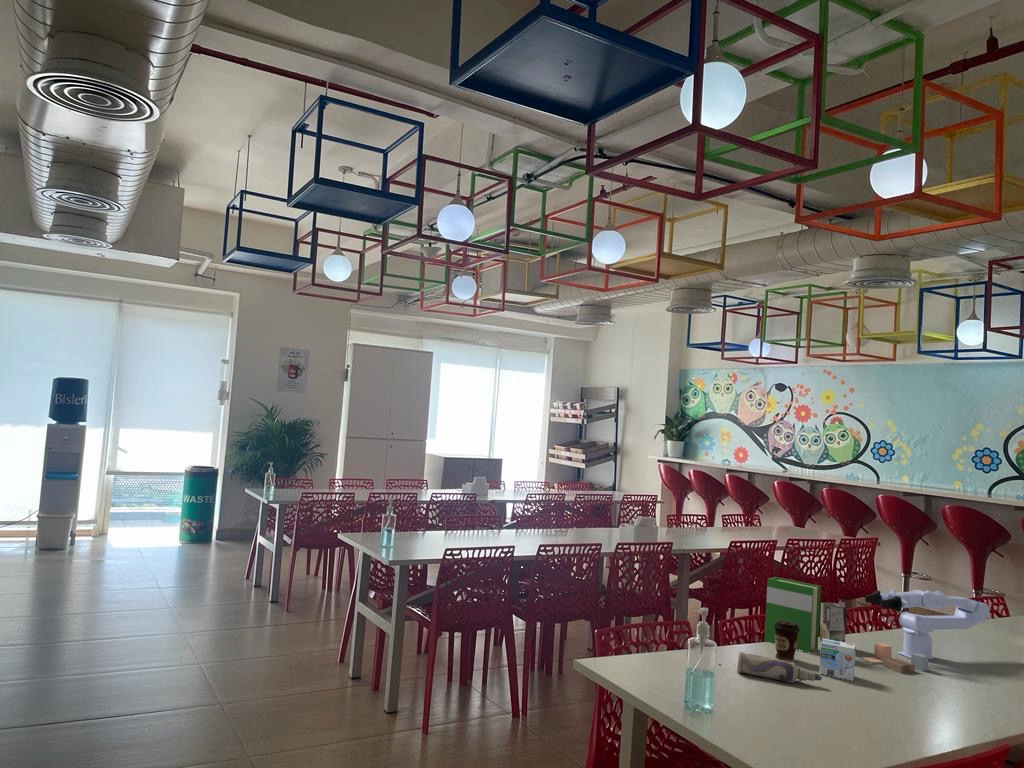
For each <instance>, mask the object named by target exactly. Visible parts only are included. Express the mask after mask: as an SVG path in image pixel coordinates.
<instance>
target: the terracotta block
mask: <svg viewBox="0 0 1024 768" xmlns="http://www.w3.org/2000/svg"><path fill="white" fill-rule="evenodd" d="M892 648H893V647H892V645H889V644H886V643H883V642H882V643H881V642H880V643H879V642H875V643H874V654H873V657H874V656H875V658H876V657H877V659H878V658H880V659H879V660H881V659H882V661H883V659H892V652H893V651H892Z"/></svg>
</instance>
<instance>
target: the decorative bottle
mask: <svg viewBox="0 0 1024 768" xmlns="http://www.w3.org/2000/svg"><path fill="white" fill-rule="evenodd" d="M736 672H737V673H740V674H747V675H750V676H751V675H752V676H756V677H760V678H761V677H762V678H766V679H772V680H777V681H780V680H781V682H784V683H788V684H794V683H797V682H801V681H811V682H815V681H822V678H823V677H822V675H821V674H819V673H816V672H814V671H812V670H807V669H806V668H802V667H799V668H798V667H797V664H796V663H795V662H794V661H793V662H789V661H785V660H780V659H778V658H773V657H768V656H763V655H762V656H761V655H757V654H753V653H745V652H742V651H739V652H738V660H737V671H736Z"/></svg>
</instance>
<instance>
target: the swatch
mask: <svg viewBox="0 0 1024 768" xmlns="http://www.w3.org/2000/svg"><path fill="white" fill-rule="evenodd" d="M859 658H860V659H859ZM857 659H859V660H861V659H862V661H863V660H865V661H864V662H866V661H867V662H866V663H868V662H869V663H868V664H870V663H872V664H871V665H883V660H881V659H878V658H876V657H874V656H865V657H864V656H858V657H857Z"/></svg>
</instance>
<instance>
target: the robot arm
mask: <svg viewBox="0 0 1024 768" xmlns="http://www.w3.org/2000/svg"><path fill="white" fill-rule="evenodd" d="M864 602H865V603H867V604H868V603H869V604H875V605H877V606H879V607H880V608H885V609H889V610H893V611H895V612H899V613H900V612H902V611H901V610H902V609H908V608H909V609H910V608H918V607H919V608H920V607H921V608H925V609H929V610H931V608H935V609H936V608H937V609H938V608H940V609H944V608H946V607H947V606H949V607H950V606H952V607H955V611H954V615H920V614H915V613H911V612H909V611H904V612H902V613H901V614H900V616H899V620H898V621H899V625H900V626H901V627H902V630H903V643H902V644H903V645H902V651H897V654H900V655H902V656H905V657H906V658H910V659H911V654H914V653H920V654H923V655H927V656H929V657H928V660H934V657H933V639H932V637H931V635H930V634H929V633H932V632H934V631H935V630H967V629H970V628H972V627H974V626H975V625H977V624H978V623H983V622H986V621H987V620H988V618H989V616H990V606H989V605H988V604H987V603H985V602H980V601H976V600H974V599H970V598H968V597H962V596H947V595H946V594H945V593H944V592H942V591H940V590H935V591H934V592H933V591H931V590H928V589H927V590H925V591H923V590H919V589H916V588H915V589H913V590H911V591H901V592H900V591H899V592H896V590H895V589H890V590H889V591H888V592H886V593H885V592H884V593H881V590H879V589H877V590H874V591H873V592H872V593H871V594H868V595H865V596H864Z"/></svg>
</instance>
